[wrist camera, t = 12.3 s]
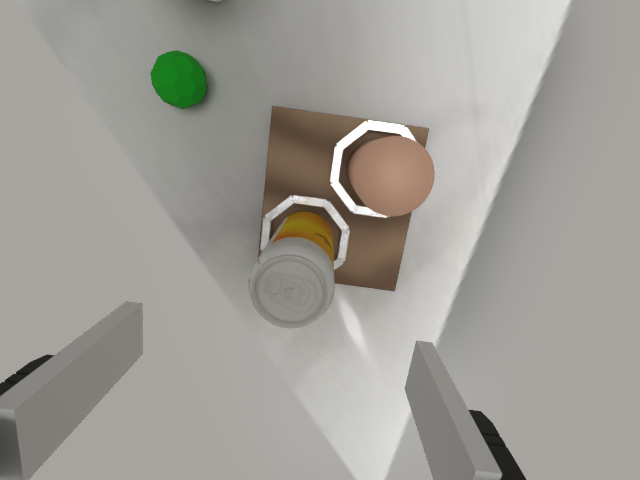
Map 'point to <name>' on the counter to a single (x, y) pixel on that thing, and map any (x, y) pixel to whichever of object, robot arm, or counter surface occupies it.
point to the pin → (391, 174)
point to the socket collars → (337, 187)
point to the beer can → (295, 272)
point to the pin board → (333, 191)
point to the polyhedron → (179, 79)
